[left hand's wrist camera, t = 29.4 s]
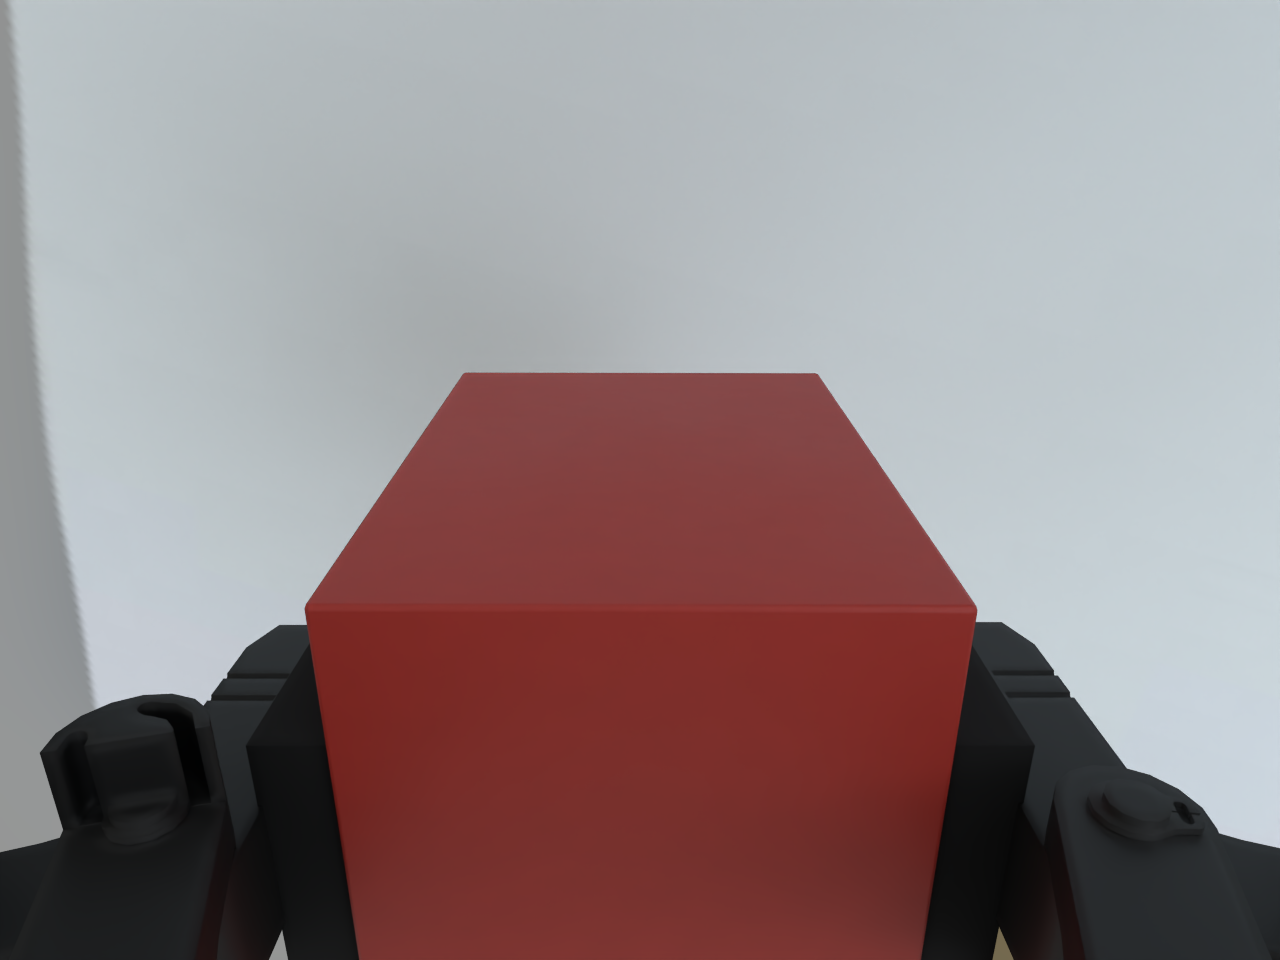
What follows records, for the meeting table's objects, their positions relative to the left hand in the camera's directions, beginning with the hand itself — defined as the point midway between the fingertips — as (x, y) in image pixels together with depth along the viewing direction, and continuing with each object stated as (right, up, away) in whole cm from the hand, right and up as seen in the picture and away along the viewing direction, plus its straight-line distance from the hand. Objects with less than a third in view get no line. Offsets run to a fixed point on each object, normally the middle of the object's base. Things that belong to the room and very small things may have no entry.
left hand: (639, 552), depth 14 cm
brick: (0, 0, 0) cm, 1 cm away
